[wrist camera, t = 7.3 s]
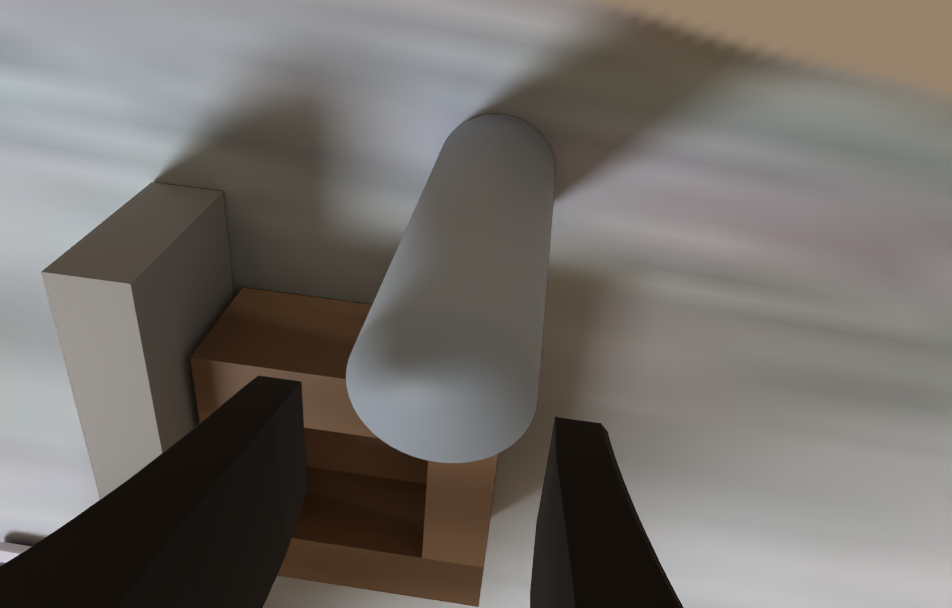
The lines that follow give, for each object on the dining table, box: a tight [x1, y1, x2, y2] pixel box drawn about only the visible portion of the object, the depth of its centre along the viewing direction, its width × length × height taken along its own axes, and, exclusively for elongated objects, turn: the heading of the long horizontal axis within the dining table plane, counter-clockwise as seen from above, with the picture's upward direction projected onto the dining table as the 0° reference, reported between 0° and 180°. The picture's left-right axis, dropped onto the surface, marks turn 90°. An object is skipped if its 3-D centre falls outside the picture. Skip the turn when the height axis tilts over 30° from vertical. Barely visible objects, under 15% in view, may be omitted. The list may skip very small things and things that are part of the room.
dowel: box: [346, 114, 556, 463], centre depth 16 cm, size 3×3×9 cm
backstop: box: [41, 182, 234, 500], centre depth 23 cm, size 15×2×5 cm, turn 175°
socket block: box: [190, 287, 499, 607], centre depth 23 cm, size 8×8×4 cm
